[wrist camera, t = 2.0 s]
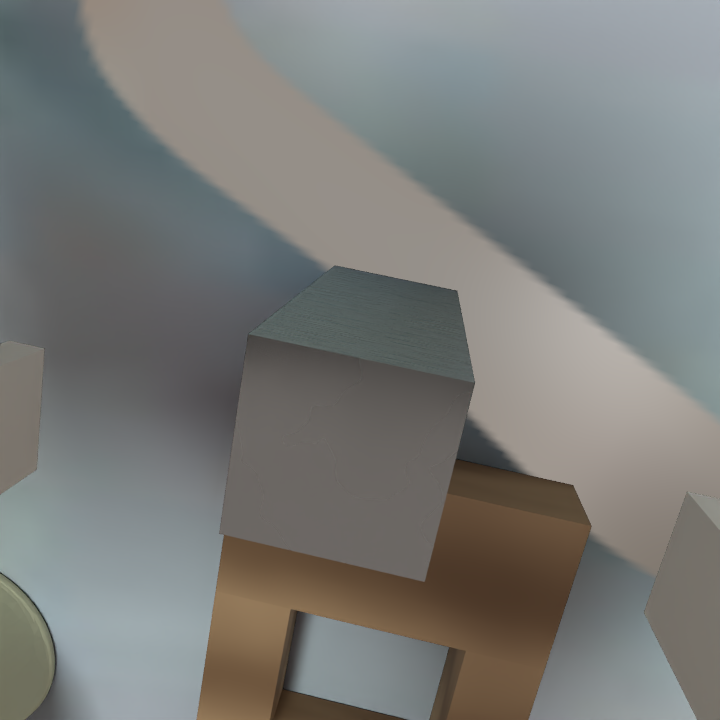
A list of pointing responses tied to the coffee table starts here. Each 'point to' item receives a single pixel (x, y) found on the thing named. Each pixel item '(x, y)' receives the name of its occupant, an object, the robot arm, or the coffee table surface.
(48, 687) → the can
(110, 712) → the coffee table surface
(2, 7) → the coffee table surface
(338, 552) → the grey square block
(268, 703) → the jig
